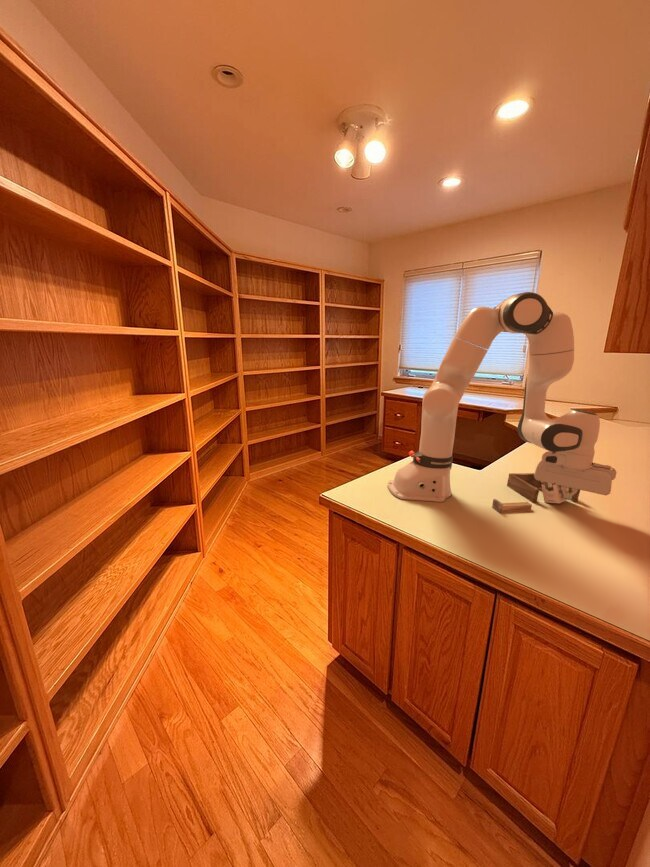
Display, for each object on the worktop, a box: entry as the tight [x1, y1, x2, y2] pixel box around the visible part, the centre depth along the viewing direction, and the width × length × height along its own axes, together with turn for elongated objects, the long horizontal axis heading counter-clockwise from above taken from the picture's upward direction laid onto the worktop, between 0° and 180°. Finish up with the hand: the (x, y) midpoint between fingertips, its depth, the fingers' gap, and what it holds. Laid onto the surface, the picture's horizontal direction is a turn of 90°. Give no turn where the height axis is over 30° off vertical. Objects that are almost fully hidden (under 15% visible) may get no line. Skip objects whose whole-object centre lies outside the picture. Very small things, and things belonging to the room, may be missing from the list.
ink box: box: [541, 481, 569, 504], centre depth 112 cm, size 9×5×12 cm, turn 123°
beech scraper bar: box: [491, 498, 533, 514], centre depth 105 cm, size 4×12×3 cm, turn 98°
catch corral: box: [506, 472, 581, 504], centre depth 118 cm, size 16×14×5 cm
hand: (567, 499), depth 108 cm, fingers closed
